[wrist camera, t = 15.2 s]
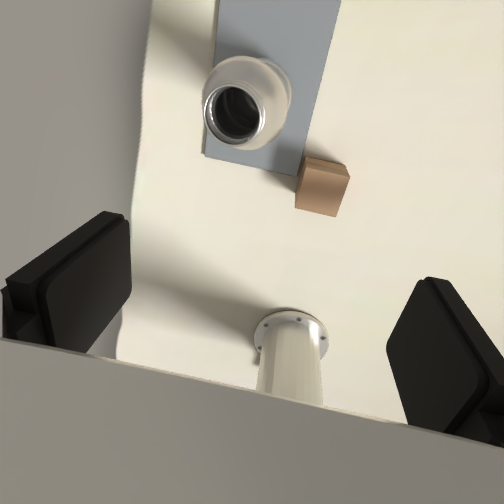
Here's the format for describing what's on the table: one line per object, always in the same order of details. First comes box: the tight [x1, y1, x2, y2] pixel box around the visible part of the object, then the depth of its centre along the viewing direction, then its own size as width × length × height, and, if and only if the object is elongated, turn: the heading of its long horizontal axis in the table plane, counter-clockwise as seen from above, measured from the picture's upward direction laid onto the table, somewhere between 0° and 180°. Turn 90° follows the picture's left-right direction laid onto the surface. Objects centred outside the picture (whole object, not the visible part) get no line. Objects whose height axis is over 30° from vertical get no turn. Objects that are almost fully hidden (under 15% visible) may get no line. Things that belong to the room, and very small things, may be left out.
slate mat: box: [205, 0, 341, 176], centre depth 37 cm, size 18×12×1 cm, turn 170°
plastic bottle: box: [202, 56, 293, 150], centre depth 28 cm, size 6×7×20 cm
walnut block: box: [295, 156, 350, 217], centre depth 39 cm, size 5×5×5 cm
